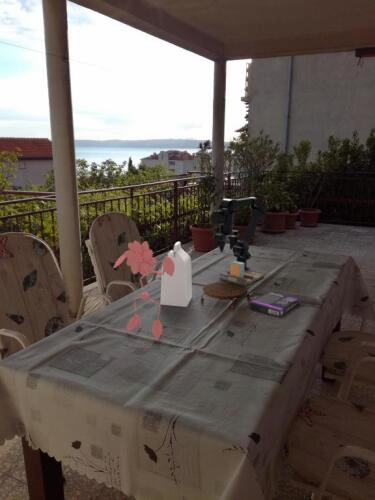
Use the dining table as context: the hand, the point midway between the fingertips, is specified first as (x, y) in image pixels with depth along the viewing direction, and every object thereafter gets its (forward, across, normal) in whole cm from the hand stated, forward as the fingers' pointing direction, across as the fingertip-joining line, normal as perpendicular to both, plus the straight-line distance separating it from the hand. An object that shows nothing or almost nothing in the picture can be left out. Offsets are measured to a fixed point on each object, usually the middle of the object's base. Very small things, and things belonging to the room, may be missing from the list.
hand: (226, 250), depth 216 cm
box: (+13, +28, +44) cm, 54 cm away
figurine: (+12, +88, +23) cm, 92 cm away
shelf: (+12, +4, +13) cm, 18 cm away
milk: (+12, +52, +9) cm, 54 cm away
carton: (+10, +9, +13) cm, 19 cm away
